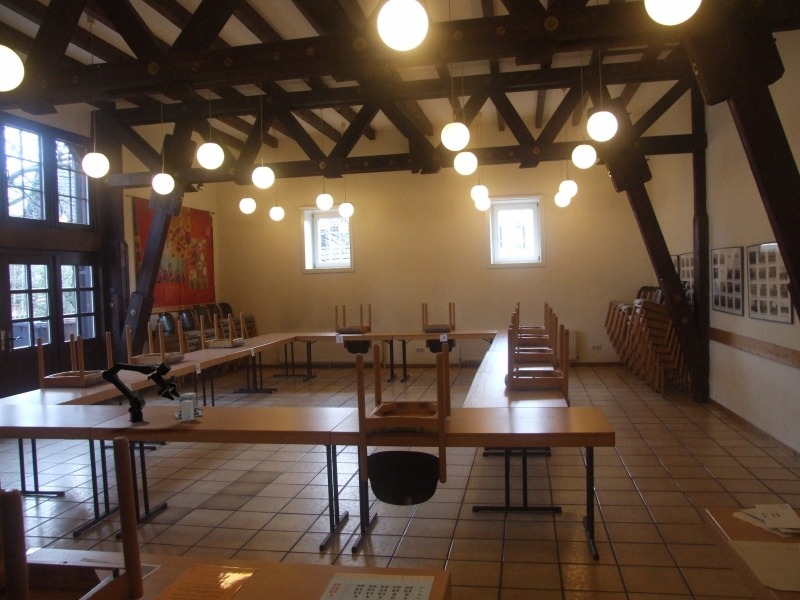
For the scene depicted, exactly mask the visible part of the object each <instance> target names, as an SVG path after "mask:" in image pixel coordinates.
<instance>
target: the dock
mask: <svg viewBox="0 0 800 600" xmlns="http://www.w3.org/2000/svg"><path fill="white" fill-rule="evenodd" d="M197 416H202V417H203V413H202V411H201V409H200V410H199V409H198V408H196V409H194V418H198V417H197ZM174 417H175V418H174V419H175V420H181V419H180V418H182V416H181V411H180V410H178V411H177V412H174Z"/></svg>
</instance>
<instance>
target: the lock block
mask: <svg viewBox="0 0 800 600" xmlns="http://www.w3.org/2000/svg"><path fill="white" fill-rule="evenodd" d="M181 416H182V419H181V422H192V421H193V420H194V419H195V417H194V405H193V400H185V401H182V402H181ZM191 420H192V421H191Z"/></svg>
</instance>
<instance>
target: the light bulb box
mask: <svg viewBox="0 0 800 600" xmlns="http://www.w3.org/2000/svg"><path fill="white" fill-rule="evenodd" d="M179 395H180V397H179V411H181V402H182V401H185V400H193V405H194V409H195V408H196V409H198V407H197V405H198V404H197V401H198V400H197V392H186V393H184V394H179Z"/></svg>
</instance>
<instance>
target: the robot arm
mask: <svg viewBox="0 0 800 600" xmlns="http://www.w3.org/2000/svg"><path fill="white" fill-rule="evenodd" d="M171 370H172V366H171V365H169V363H165V361H163V362H161V364H159V366H155V365H153V364H140V365H139V364H132V363H125V362H117V363H115V364H114V365H113V366H111V367H110V368H108V369H107V370H105V371H104V370H103V372H102V374H101V377H102V379H104V381H106V382H107V383H108V382H109V383H110V384H112V385H113V386H114V387H115V388H116V389H117V390H118V391H119V392H120V393H121V394H122V395H123V396H124V397H125V398H126V399H127V400H128V402H129V404H130V407H128V413H129V420H128V421H129V422H131V423H135V422H136V423H137V422H142V421H144V413H143V408H145V406H146V400H145V398H144V397H143V396H142V395H141V394H137V395H136V394H135V393H134V392H133V391H132V390H131V389H130V388H129V387H128V386H127V385H126V384H125V382H123V381H122V380H121V379H120V378H119V372H120V371H129V372H130V371H131V372H137V373H140V374H142V375H145V376H147V381H152V382H153V383H154V384H155V386H156V387H158V388H159V390H158V391H157V392H156V394H157V396H159V397H161V398H165V399H168V400H171V401H175V398H174V397H176V398H179V399H180V395H181V394H179V392H178V389H177V388H178V383H176V382H177V381H178V379H177V376H175V375H171V376H170V377H169V378H164V376H165V377H166V375H168V373H169V372H171Z"/></svg>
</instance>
